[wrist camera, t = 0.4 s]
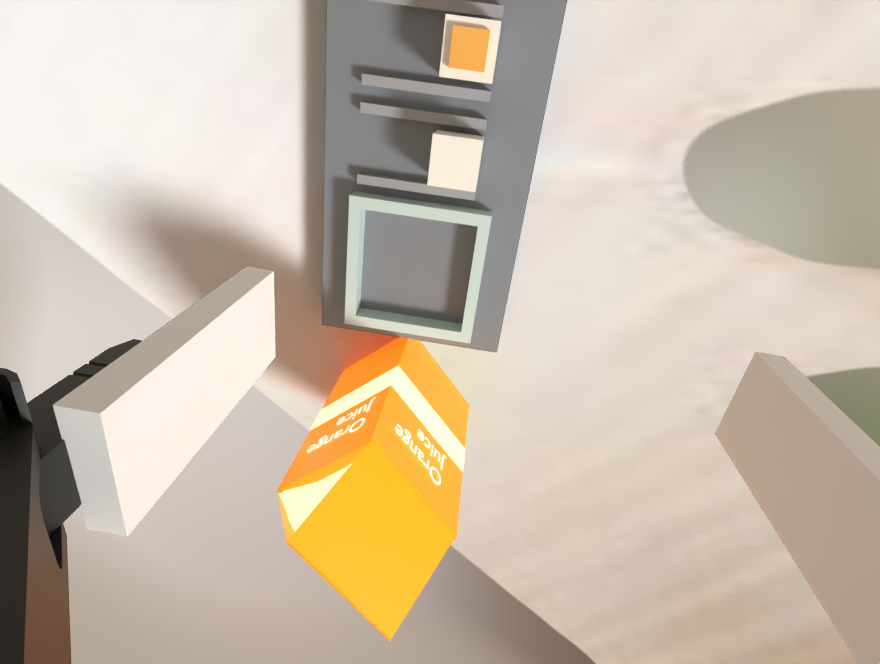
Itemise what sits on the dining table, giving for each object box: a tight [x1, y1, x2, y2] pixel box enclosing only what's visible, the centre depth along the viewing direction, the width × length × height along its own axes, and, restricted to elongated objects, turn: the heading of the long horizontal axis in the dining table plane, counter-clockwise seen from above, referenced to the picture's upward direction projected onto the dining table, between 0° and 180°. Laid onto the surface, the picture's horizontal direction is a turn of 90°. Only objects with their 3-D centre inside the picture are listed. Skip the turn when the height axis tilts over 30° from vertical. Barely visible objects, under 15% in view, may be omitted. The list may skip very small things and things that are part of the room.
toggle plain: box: [427, 130, 484, 192], centre depth 31 cm, size 3×3×3 cm
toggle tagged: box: [439, 14, 501, 84], centre depth 28 cm, size 3×3×3 cm
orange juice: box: [277, 337, 469, 641], centre depth 35 cm, size 8×9×20 cm
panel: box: [322, 0, 567, 353], centre depth 34 cm, size 24×14×4 cm, turn 173°
